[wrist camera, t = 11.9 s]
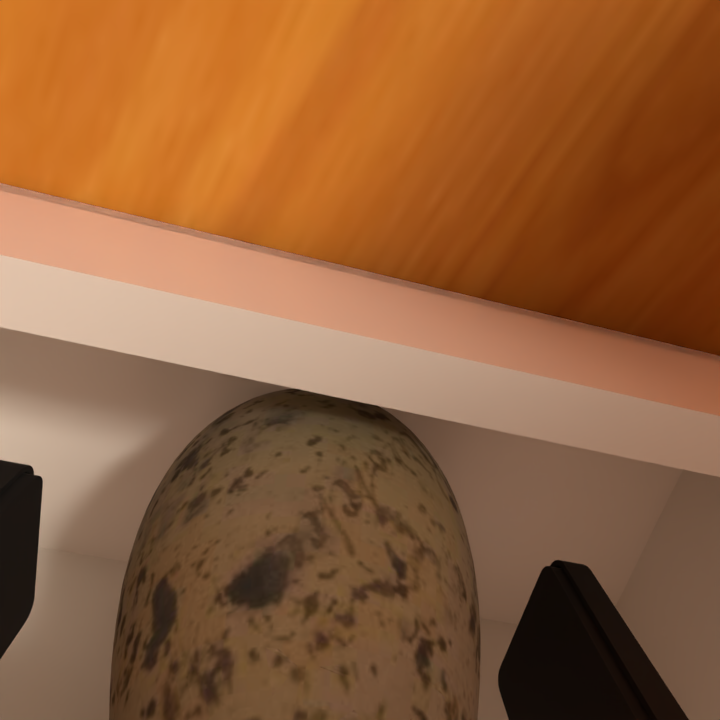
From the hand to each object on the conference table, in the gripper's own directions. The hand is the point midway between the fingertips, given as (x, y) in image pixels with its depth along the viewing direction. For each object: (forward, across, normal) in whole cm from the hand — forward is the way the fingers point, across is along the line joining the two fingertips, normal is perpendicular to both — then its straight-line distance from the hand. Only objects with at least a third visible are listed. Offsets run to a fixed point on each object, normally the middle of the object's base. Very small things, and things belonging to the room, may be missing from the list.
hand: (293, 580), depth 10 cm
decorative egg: (+4, 0, 0) cm, 4 cm away
